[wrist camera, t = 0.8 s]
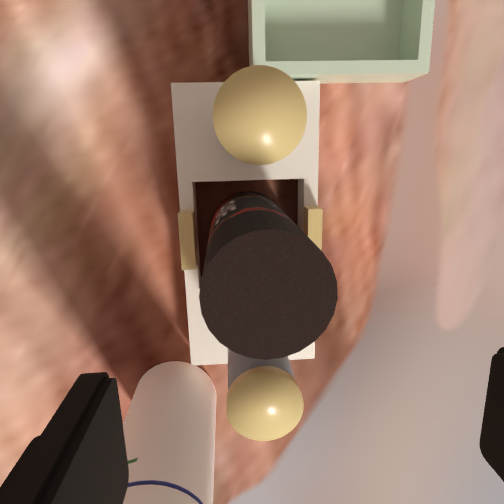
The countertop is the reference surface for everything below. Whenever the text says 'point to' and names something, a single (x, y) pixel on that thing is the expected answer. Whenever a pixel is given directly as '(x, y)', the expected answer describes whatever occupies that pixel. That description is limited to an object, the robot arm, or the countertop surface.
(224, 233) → the deodorant
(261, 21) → the tray
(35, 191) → the countertop surface
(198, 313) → the fuse block
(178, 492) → the cylindrical container
